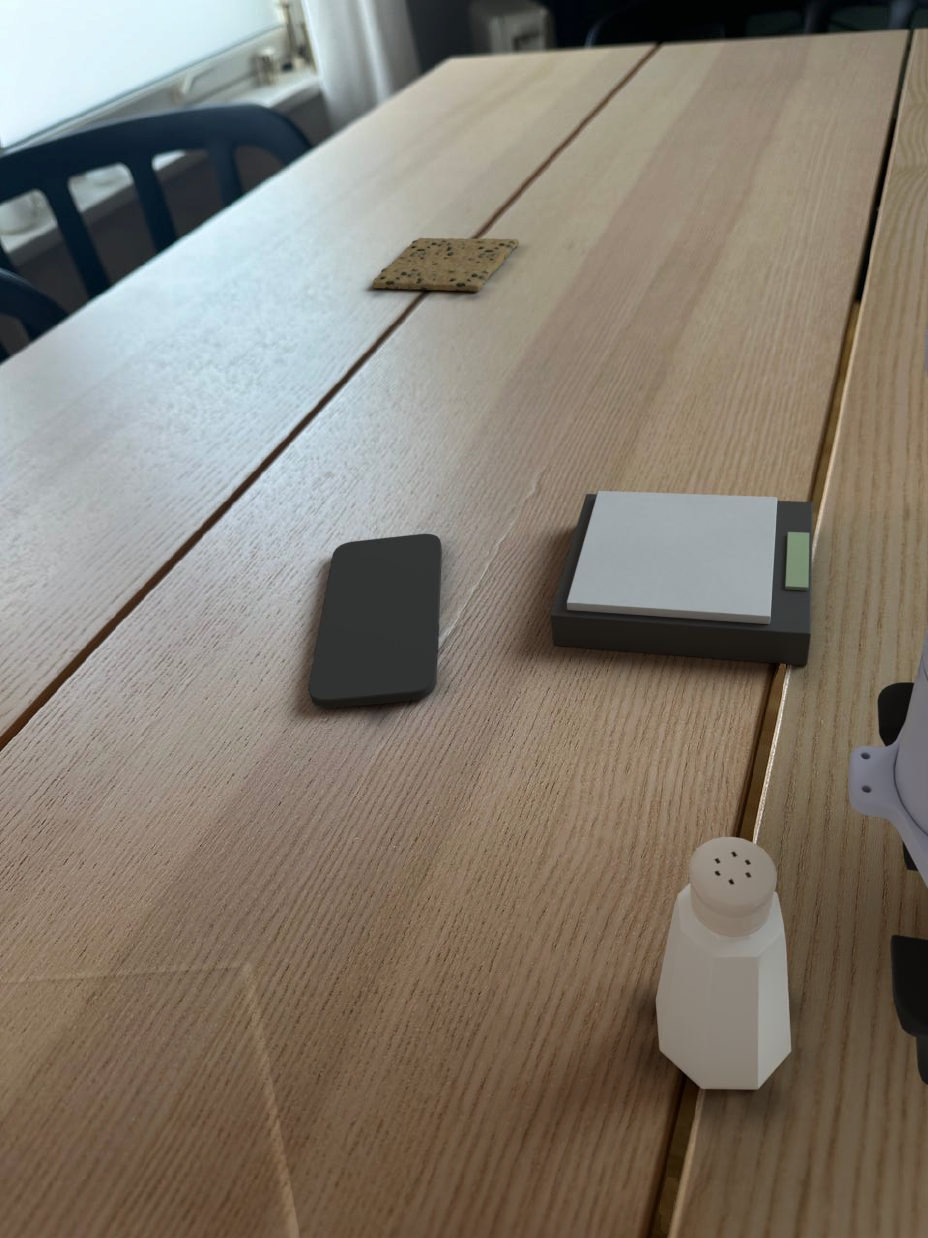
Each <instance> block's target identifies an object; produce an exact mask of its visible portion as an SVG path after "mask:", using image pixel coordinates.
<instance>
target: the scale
mask: <svg viewBox="0 0 928 1238" xmlns="http://www.w3.org/2000/svg"><path fill="white" fill-rule="evenodd" d="M813 516H814V503H813V501H800V500H799V501H798V500H797V501H796V500H795V501H794V500H778V497H776V496H758V495H757V496H755V495H729V494H728V495H725V494H700V493H673V492H672V493H671V492H670V493H669V492H668V493H666V492H644V491H643V492H642V491H640V492H639V491H616V490H615V491H611V490H598V491H597V493H586V494H585V496H584V501H583V503H582V507H581V510H580V514H579V517H578V521H577V523H576V528H575V530H574V533H573V537H572V541H571V543H570V547H569V551H568V554H567V557H566V561H565V564H564V567H563V571H562V574H561V576H560V577H561V578H560V580H559V585H558V588H557V592H556V595H555V598H554V600H553V601H554V602H553V605H552V608H551V612H550V614H549V615H550V625H551V626H550V627H551V634H552V644H553V646H559V647H570V648H582V649H583V648H584V649H595V650H606V651H608V650H609V651H618V652H631V653H644V654H657V655H669V656H680V657H692V658H693V657H694V658H704V659H705V658H706V659H717V660H720V659H721V660H731V661H741V662H754V663H768V664H780V665H792V666H805V667H806V666H807V665H808V661H809V653H810V647H811V646H810V645H811V639H812V602H813V601H812V598H813V597H812V596H813V594H812V593H813V592H812V590H813V583H812V582H813V532H814V531H813V529H814V528H813V526H814V525H813V524H814V523H813V522H814V519H813V518H814V517H813Z"/></svg>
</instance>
